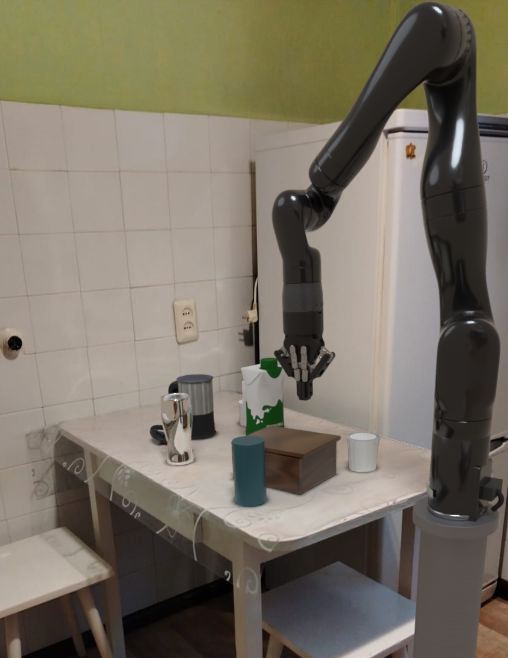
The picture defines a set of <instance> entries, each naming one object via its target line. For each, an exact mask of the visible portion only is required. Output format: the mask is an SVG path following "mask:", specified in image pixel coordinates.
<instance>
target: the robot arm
mask: <svg viewBox="0 0 508 658" xmlns="http://www.w3.org/2000/svg"><path fill="white" fill-rule="evenodd" d="M477 71H478V41H477V32H476V28H475V25H474V22H473V20H472V19H471V16H469V14H468V13H467V12H466V11H465V10H464V9H462V8H459V7H458V6H454V5H452V4H448V3H443V2H440V1H436V0H435V1H434V0H428V1H423V2H420V3H418V4H416V5H414V6H412V8H410V9H409V10H408V11H407V12H406V13H405V14H404V16H402V18H401V20H400V21H399V23H398V24H397V26H396V27H395V29H394V31H393V32H392V34H391V36H390V38H389V39H388V41H387V42H386V45H385V47H384V49H383V51H382V52H381V54H380V57H379V58H378V60H377V62H376V64H375V66H374V67H373V69H372V71H371V73H370V74H369V76H368V78H367V80H366V82H365V83H364V85H363V87H362V89H361V90H360V92H359V94H358V96H357V97H356V99H355V101H354V102H353V104H352V105H351V108H350V109H349V111H348V112H347V113H346V115H345V116H344V118H343V119H342V121H341V122H340V124H339V125H338V127H337V128H336V130H335V131H334V132H333V133H332V135H331V136H330V138H328V140H327V142H325V144H324V145H323V147H322V148H321V150H320V151H319V152H318V153H317V154H316V156H315V158H314V159H313V160H312V162H311V164H310V165H309V168H308V175H307V176H308V179H309V181H310V183H311V184H310V185H309V186H308V187H307V188H306V189H285V190H282V191H281V192H280V193H278V194H277V195H276V197H275V199H274V201H273V204H272V208H271V224H272V229H273V233H274V236H275V240H276V243H277V247H278V251H279V254H280V257H281V260H282V261H281V263H282V265H281V267H282V293H281V304H282V306H281V308H282V332H283V335H284V339H283V342H282V346H281V347H280V348H279V349H277V350H276V349H275V350H274V351H273V355H274V358H277V362H278V364H279V365H280V366H282V368H283V369H284V371H285V374H286V376H287V377H289V378H292V379H294V380H295V382H296V383H295V384H296V385H295V386H296V396H297V398H298V400H299V401H304V402H305V401H306V402H307V401H309V400H311V398H312V397H313V395H314V380H316V379H318V378H321V377H322V376H323V375H324V374H325V372H326V370H327V369H328V368H329V366H330V365H331V363H332V362H333V360H334V359H335V358H336V353H335V352H334V351H330V350H329V349H327V347H326V342H325V340H324V337H323V334H324V329H325V328H324V327H325V326H324V322H325V321H324V292H323V291H324V290H323V283H322V256H321V252H320V250H319V249H318V248H317V247H313V246H311V245H310V244H309V241H308V236H307V233H313V232H316V231H318V230H319V229H320V230H321V228H322V227H323V226H324V225H326V224H327V222H329V220H330V218H331V217H332V215H333V214H334V211H335V210H336V207H337V206H338V204H339V202H340V200H341V198H342V196H343V193H344V191H345V190H346V189H347V188H348V187H349V185H350V184H351V183H352V182H353V180H354V179H355V178H356V177H357V176H358V175H359V173H360V172H361V171H362V170H363V168H364V167H365V166H366V164H367V163H368V161H369V160H370V159H371V157H372V155H373V154H374V152H375V150H376V148H377V145H378V143H379V141H380V139H381V136H382V134H383V132H384V129H385V128H386V125H387V123H388V122H389V121H390V118H391V117H392V115H393V114H394V113H395V111H396V110H397V108H399V106H400V105H401V104H402V103H403V102H404V100H405V99H407V98H408V96H410V95H411V93H412V92H414V91H415V90H416V89H417V88H418V87H419V86H420V85H421V84H422V87H423V92H424V97H425V98H424V99H425V104H426V110H427V120H428V123H427V124H428V132H427V141H426V146H425V152H424V156H423V161H422V166H421V172H420V177H419V198H420V199H419V200H420V209H421V216H422V224H423V230H424V231H423V232H424V235H425V240H426V245H427V250H428V254H429V257H430V261H431V265H432V269H433V272H434V275H435V279H436V283H437V290H438V299H439V301H438V303H439V335H438V341H437V347H436V357H435V358H436V360H435V376H434V377H435V378H434V391H433V392H434V393H433V394H434V395H433V416H432V417H433V420H432V431H431V432H432V434H431V446H430V447H431V448H430V462H429V463H430V467H429V479H428V483H426V489H425V490H426V492H427V494H428V496H427V497H428V503H427V510H428V511H429V512H430V513H431V514H433V515H434V516H437V517H439V518H443V519H447V520H454V521H473V522H476V521H477V520H478V519H479V518H480V517H481V516H483V514H484V513H485V512H486V511H487V510H488V503H489V502H493V501H494V500H495V499H498V500H497V502H496V503H495V504H494V505H493V507H492V508H491V510H492V511H493V512H495V511H496V510H499V509H500V508H501V507H503V505H504V503H505V497H504V496H505V495H504V493H503V482H504V480H503V478H497V477H493V476H492V470H493V462H494V461H493V458H492V457H490V450H491V439H492V438H491V437H492V429H493V420H494V419H493V418H494V417H493V416H494V409H495V404H496V397H497V389H498V381H499V380H498V379H499V372H500V371H499V369H500V362H501V349H502V348H501V347H502V345H501V343H502V342H501V337H500V334H499V331H498V329H497V325H496V323H495V322H496V321H495V319H494V315H493V312H492V311H493V310H492V305H491V299H490V294H489V290H488V281H487V259H488V244H489V216H488V215H489V213H488V201H487V189H486V180H485V173H484V165H483V164H484V163H483V155H482V144H481V134H480V125H479V119H478V118H479V117H478V103H477V102H478V101H477V85H478V84H477V82H478V81H477V79H478V78H477V77H478V73H477ZM318 359H319V361H318V362H317V360H318Z"/></svg>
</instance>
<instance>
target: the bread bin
mask: <svg viewBox="0 0 508 658" xmlns="http://www.w3.org/2000/svg"><path fill="white" fill-rule="evenodd" d="M231 460H232V461H231V462H232V464H233V453H232V452H231ZM265 469H266V488H268V489H269V488H270V489H273V490H277V491H282V492H286V493H290V494H294V495H298V496H301V495H303V494H305V493H306V492H308V491H309V490H311V489H314V488H315V487H316V486H319V485H320V484H322V483H323V482H325V481H327V480H329V479H330V478H332V477H334V476H335V475H337V442H335V443H333V444H331V445H329V446H327V447H325V448H323V449H321V450H319V451H317V452H315V453H313V454H311V455H309V456H307V457H305V458H300V457H295V456H289V455H283V454H278V453H272V452H266V451H265ZM232 477H233V478H232V479H233V480H234V472H233V471H232Z"/></svg>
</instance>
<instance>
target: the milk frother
mask: <svg viewBox="0 0 508 658" xmlns="http://www.w3.org/2000/svg"><path fill="white" fill-rule="evenodd" d="M213 379H214V376H213V375H211V374H206V373H205V374H203V373H194V374H192V373H191V374H184V375H180V376H178V377H176V380H174V381H172V382H171V383H170V384H169V385H168V389H167V390H168V391H167V394H171V393H186V394H189V395H190V400H191V406H192V416H193V423H192V434H191V440H201V439H207V438H211V437H213V436H215V435H216V434H217V431H216V425H215V412H214V411H215V409H214V390H213V389H214V385H213ZM149 435H150V436H151V438H153V439H154V440H155V441H157V442H159V443H160V444H162V443H166V444H167V441H166V437H165V433H164V430H163V425H162V424H153V425H152V426H151V427H150V428H149Z"/></svg>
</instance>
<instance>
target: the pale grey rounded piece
mask: <svg viewBox="0 0 508 658" xmlns="http://www.w3.org/2000/svg"><path fill="white" fill-rule="evenodd" d="M241 395H242V399H239V401H238V409H239V411H238V413H239V424H240V426H242V427H245V428H246V397H245V383H244V380H242V381H241Z"/></svg>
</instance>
